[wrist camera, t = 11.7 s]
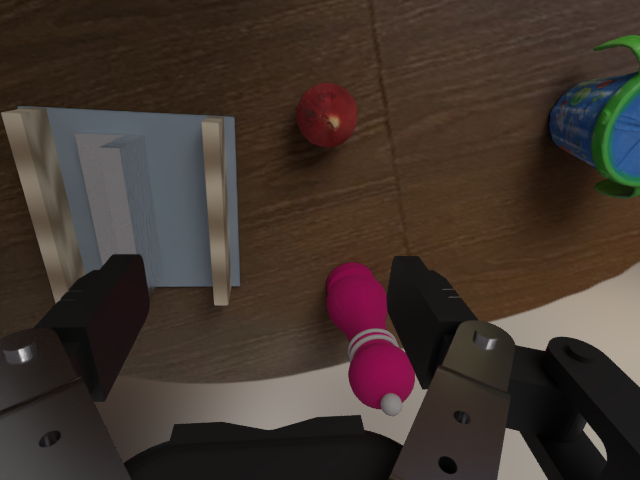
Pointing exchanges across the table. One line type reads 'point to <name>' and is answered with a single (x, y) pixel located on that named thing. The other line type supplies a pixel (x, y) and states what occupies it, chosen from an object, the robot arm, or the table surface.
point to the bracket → (121, 197)
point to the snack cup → (604, 126)
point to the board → (155, 187)
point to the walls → (54, 212)
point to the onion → (327, 115)
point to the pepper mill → (369, 339)
